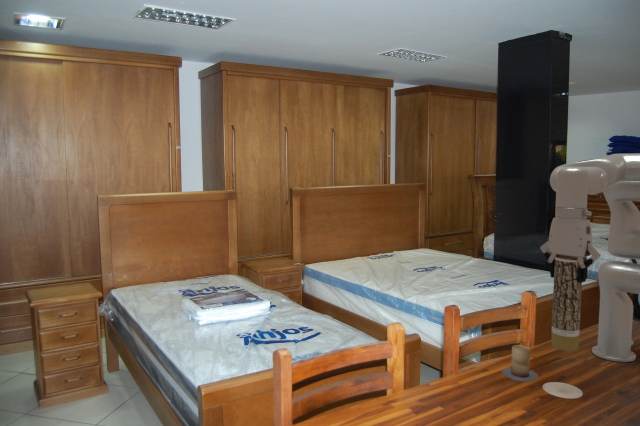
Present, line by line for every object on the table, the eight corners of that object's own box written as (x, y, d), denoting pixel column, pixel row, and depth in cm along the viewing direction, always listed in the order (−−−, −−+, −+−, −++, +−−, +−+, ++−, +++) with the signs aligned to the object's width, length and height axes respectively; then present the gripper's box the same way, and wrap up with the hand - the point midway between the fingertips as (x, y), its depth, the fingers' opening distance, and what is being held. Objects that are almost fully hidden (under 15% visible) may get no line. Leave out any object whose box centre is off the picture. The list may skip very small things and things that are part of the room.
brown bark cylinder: (581, 352, 134) (586, 260, 131) (554, 350, 135) (558, 259, 132) (574, 343, 140) (578, 255, 138) (548, 342, 142) (552, 255, 139)
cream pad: (554, 379, 146) (554, 379, 146) (589, 392, 137) (589, 391, 137) (535, 388, 140) (535, 388, 140) (570, 402, 132) (570, 401, 132)
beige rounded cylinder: (517, 369, 153) (518, 343, 152) (532, 374, 149) (533, 348, 148) (507, 373, 150) (508, 347, 149) (522, 379, 146) (523, 352, 145)
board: (516, 367, 157) (516, 363, 157) (591, 394, 138) (591, 390, 138) (493, 376, 150) (493, 373, 150) (568, 407, 131) (568, 402, 131)
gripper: (611, 215, 129) (607, 283, 131) (547, 210, 143) (545, 272, 145) (597, 217, 125) (593, 287, 126) (532, 212, 139) (530, 275, 141)
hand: (567, 278), depth 136 cm, fingers closed on brown bark cylinder, 6 cm apart
